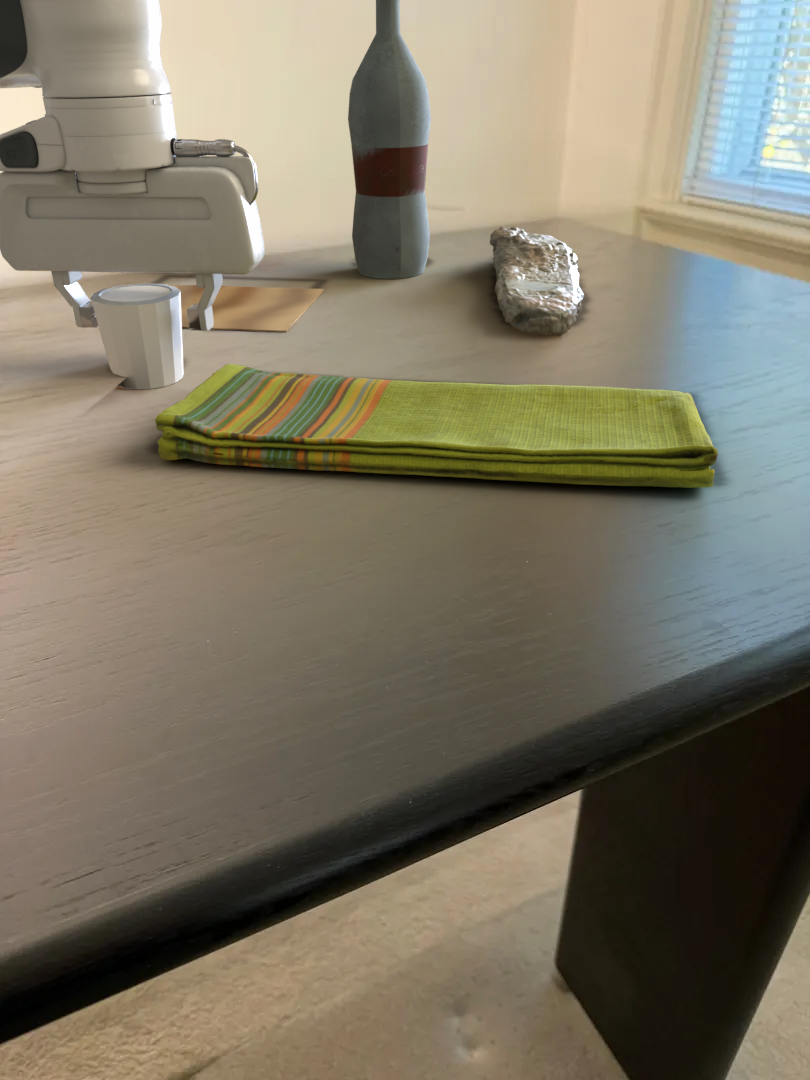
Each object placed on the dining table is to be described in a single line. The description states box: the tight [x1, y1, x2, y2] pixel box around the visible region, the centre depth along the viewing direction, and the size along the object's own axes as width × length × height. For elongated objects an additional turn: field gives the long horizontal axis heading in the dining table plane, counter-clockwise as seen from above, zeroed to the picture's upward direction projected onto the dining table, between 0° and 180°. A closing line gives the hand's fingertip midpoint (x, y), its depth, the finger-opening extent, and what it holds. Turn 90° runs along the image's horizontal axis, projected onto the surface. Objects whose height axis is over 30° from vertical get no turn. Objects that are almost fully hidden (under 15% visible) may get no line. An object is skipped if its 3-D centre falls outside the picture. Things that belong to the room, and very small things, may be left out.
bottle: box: [347, 0, 432, 280], centre depth 98 cm, size 9×9×30 cm
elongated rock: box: [489, 226, 585, 337], centre depth 96 cm, size 35×5×10 cm
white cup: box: [90, 283, 185, 390], centre depth 72 cm, size 7×7×7 cm
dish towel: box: [154, 363, 719, 489], centre depth 62 cm, size 15×36×3 cm, turn 81°
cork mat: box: [167, 283, 325, 333], centre depth 92 cm, size 18×16×1 cm
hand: (145, 327), depth 71 cm, fingers open, 8 cm apart
